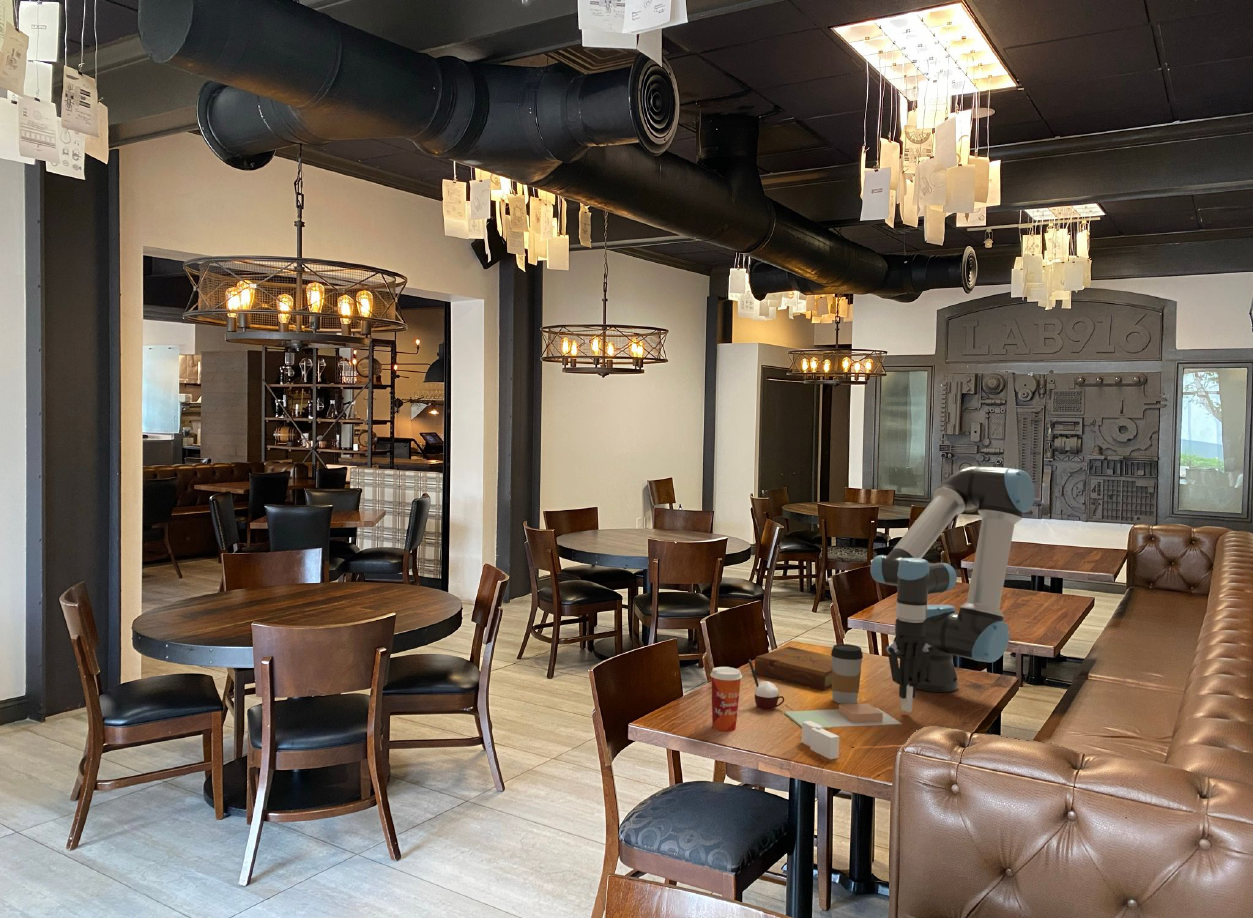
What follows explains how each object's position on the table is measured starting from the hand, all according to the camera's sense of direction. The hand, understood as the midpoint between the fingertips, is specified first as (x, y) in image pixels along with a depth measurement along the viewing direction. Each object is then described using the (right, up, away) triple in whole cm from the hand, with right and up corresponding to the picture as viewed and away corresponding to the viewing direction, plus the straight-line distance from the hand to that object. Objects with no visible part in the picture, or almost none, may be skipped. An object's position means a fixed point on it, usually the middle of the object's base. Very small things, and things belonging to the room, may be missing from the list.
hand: (906, 710), depth 246 cm
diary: (-19, 0, +36) cm, 41 cm away
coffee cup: (-14, -1, +10) cm, 17 cm away
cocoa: (-36, -1, +4) cm, 36 cm away
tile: (-9, 0, -2) cm, 9 cm away
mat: (-17, -1, -4) cm, 18 cm away
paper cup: (-48, -1, -13) cm, 50 cm away
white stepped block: (-27, -3, -26) cm, 38 cm away
